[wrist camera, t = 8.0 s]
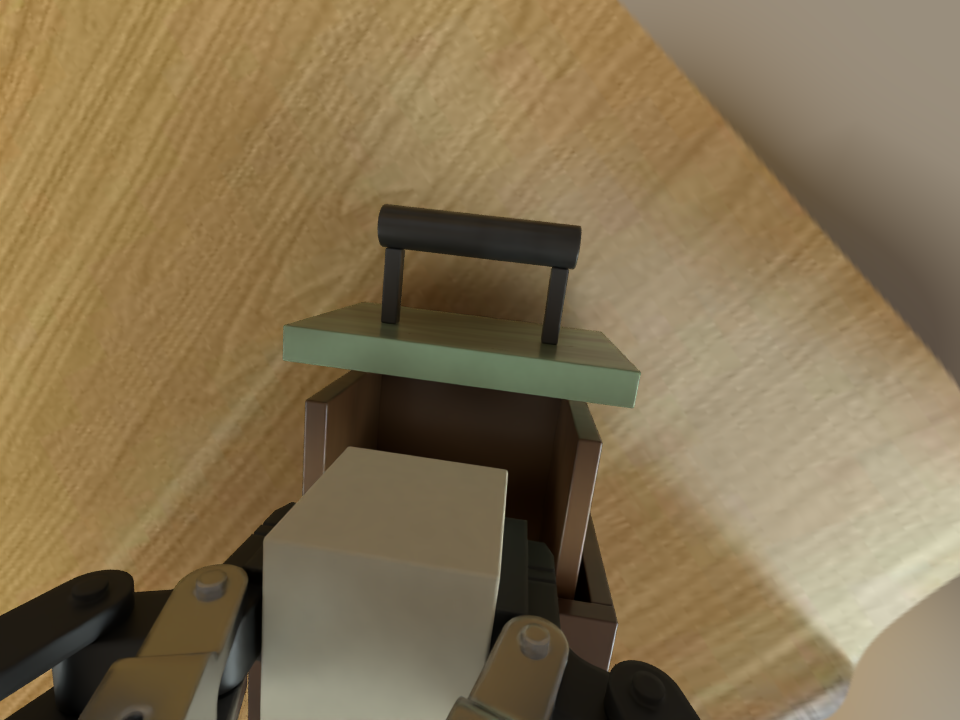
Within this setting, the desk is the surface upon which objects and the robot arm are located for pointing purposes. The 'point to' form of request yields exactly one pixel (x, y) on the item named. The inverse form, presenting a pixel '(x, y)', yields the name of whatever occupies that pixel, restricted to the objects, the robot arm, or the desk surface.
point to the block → (381, 589)
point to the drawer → (471, 378)
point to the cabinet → (580, 619)
